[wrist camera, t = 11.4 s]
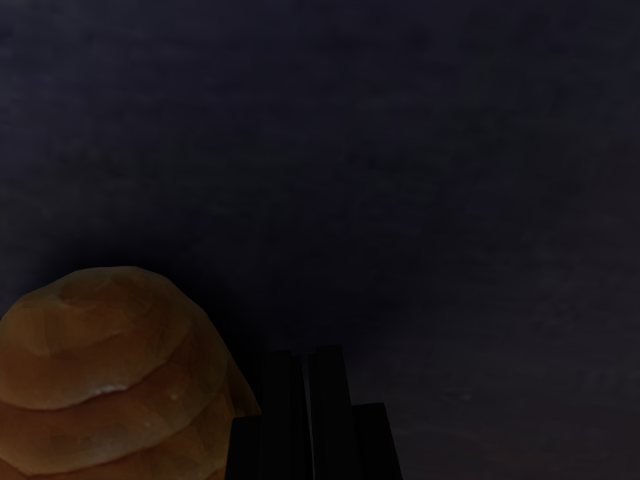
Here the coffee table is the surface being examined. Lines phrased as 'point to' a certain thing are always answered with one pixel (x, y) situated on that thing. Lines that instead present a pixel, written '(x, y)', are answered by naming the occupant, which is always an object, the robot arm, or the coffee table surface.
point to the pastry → (115, 382)
